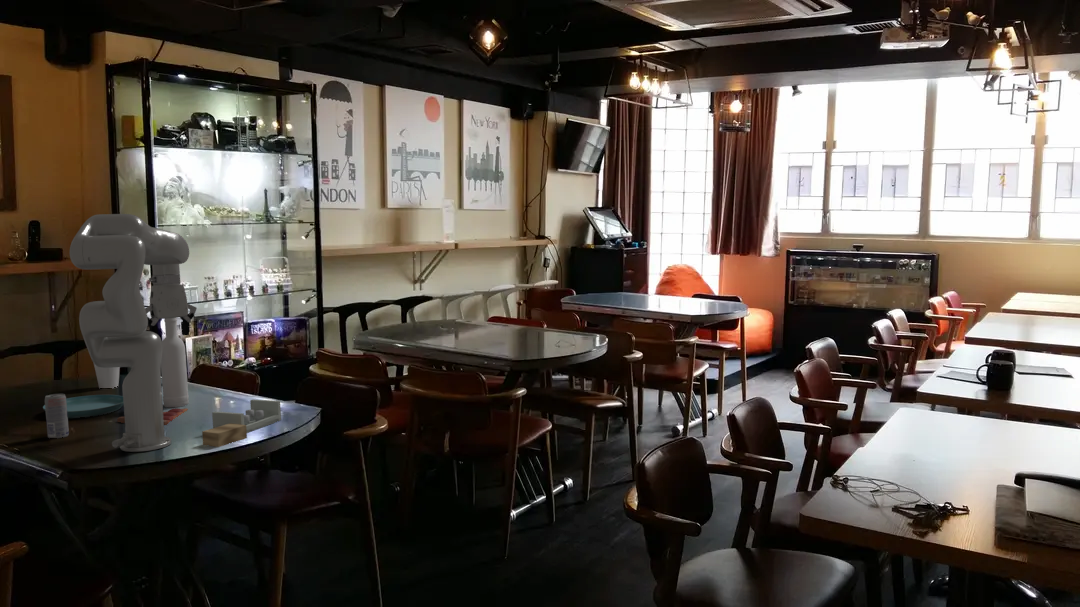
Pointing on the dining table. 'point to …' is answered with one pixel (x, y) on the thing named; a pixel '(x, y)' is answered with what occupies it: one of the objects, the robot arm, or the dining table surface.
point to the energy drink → (56, 416)
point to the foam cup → (107, 376)
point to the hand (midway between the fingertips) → (170, 336)
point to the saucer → (92, 405)
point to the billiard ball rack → (164, 415)
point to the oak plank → (224, 435)
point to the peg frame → (251, 415)
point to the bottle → (173, 367)
